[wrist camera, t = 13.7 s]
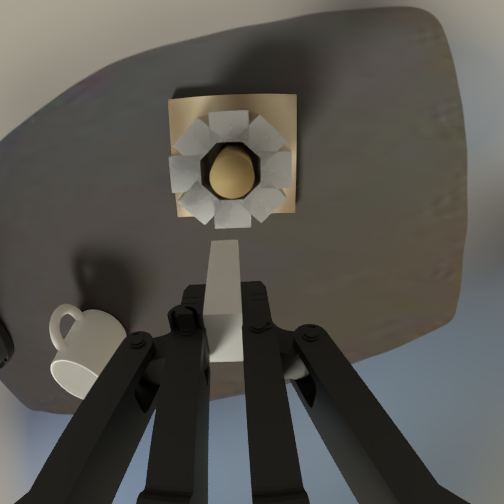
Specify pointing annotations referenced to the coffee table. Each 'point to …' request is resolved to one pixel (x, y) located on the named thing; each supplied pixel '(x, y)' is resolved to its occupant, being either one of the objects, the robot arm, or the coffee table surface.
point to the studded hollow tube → (198, 168)
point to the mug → (83, 347)
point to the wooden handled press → (237, 153)
